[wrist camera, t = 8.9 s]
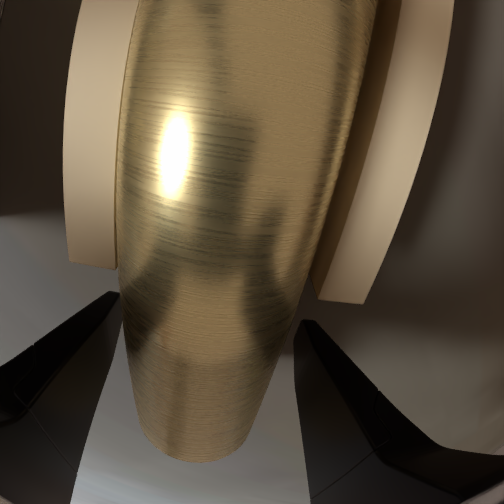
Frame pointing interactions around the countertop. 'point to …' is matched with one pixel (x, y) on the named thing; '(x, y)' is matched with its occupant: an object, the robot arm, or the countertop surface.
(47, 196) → the countertop surface
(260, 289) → the axle
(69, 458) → the robot arm
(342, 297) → the beam
